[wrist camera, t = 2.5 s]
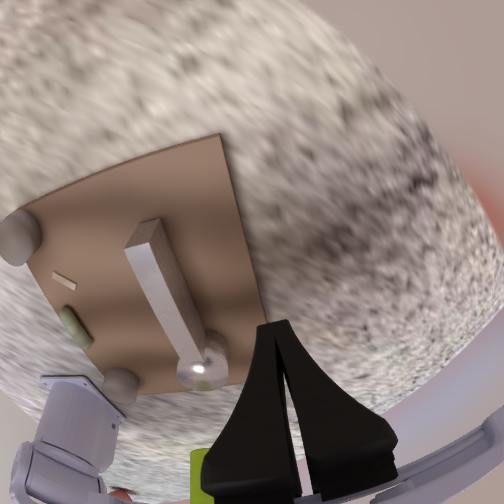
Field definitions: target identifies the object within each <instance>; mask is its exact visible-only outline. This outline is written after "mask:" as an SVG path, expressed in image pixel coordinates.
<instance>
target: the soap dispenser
mask: <svg viewBox="0 0 504 504" xmlns="http://www.w3.org/2000/svg"><path fill="white" fill-rule="evenodd" d="M208 451H209V449H198V450H194V451H192V452H191V454H190V504H214V497H212V496H210V495H208V494H206V493H204V492H203V491H202V490H201V488H200V473H201V467H202V462H203V458H204V456H205V455H206V453H207V452H208Z"/></svg>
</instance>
